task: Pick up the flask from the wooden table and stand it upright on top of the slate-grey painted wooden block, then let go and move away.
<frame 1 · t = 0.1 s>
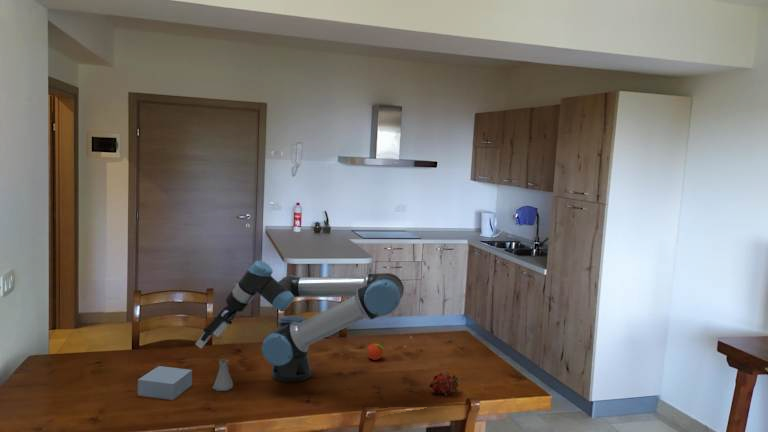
hand: (207, 340, 204), 15 cm above the table, tool tilted 35°, fingers open, 13 cm apart
flask: (222, 388, 200), on the table
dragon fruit: (443, 394, 205), on the table
grey block: (165, 391, 195), on the table
clementine: (375, 360, 236), on the table
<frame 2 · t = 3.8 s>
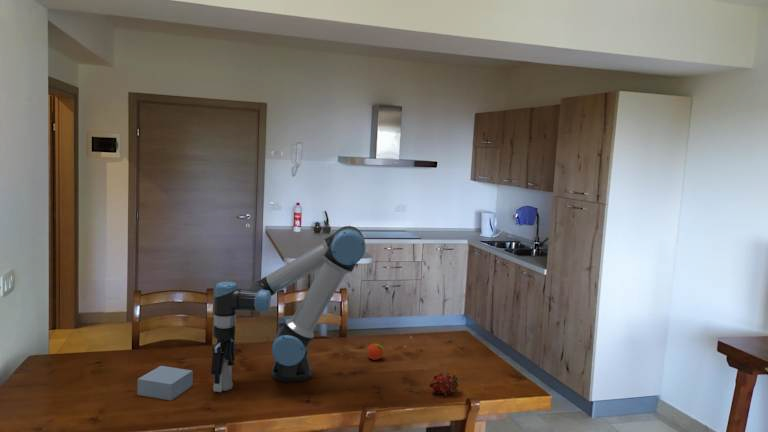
hand: (222, 386, 199), 0 cm above the table, tool pointing down, fingers closed on flask, 7 cm apart
flask: (222, 388, 199), on the table, touching gripper
everything else where it was.
when the fingers open (7 cm above the table, at t = 9.0 s): flask drops 1 cm, resting on grey block.
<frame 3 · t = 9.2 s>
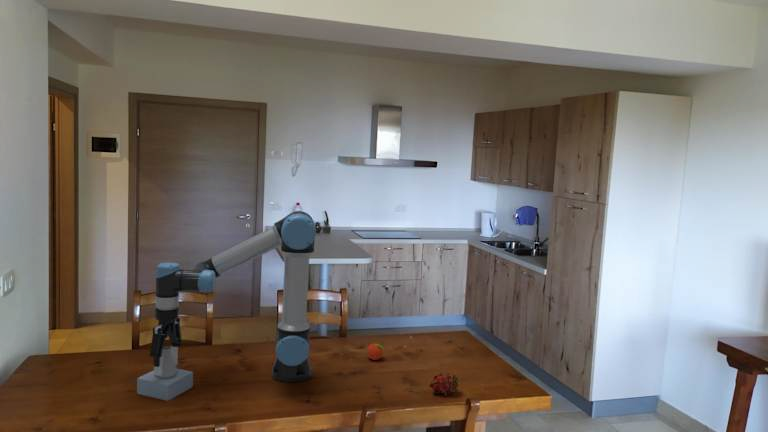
hand: (165, 369, 194), 8 cm above the table, tool pointing down, fingers open, 9 cm apart
flask: (166, 375, 194), point 5 cm above the table, touching grey block
grey block: (165, 391, 195), on the table, touching flask
everything else where it was.
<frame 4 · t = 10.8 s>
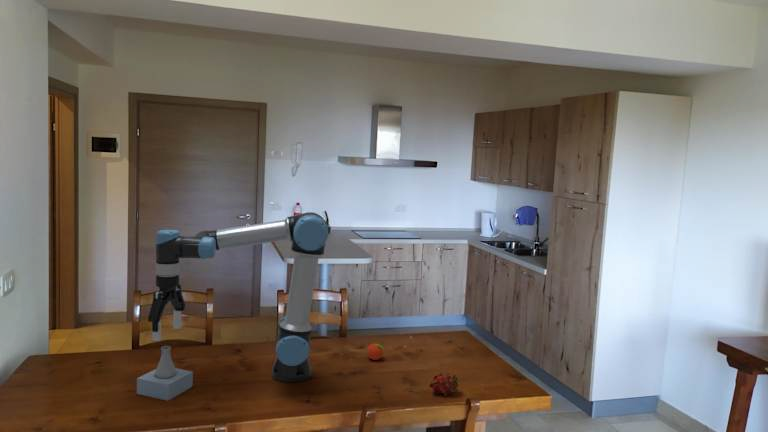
hand: (167, 334, 193), 20 cm above the table, tool pointing down, fingers open, 13 cm apart
flask: (165, 375, 194), point 5 cm above the table
grey block: (165, 391, 195), on the table
everything else where it was.
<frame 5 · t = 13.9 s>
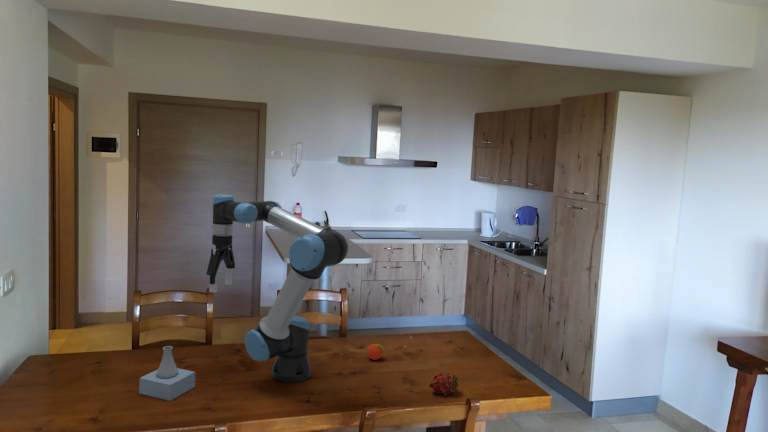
hand: (220, 288, 215), 32 cm above the table, tool pointing down, fingers open, 13 cm apart
at the end: flask inside the target area on the grey block (0.2 cm from its centre), point 5.8 cm above the grey block's base; flask tilted 0°; the gripper is holding nothing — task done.
